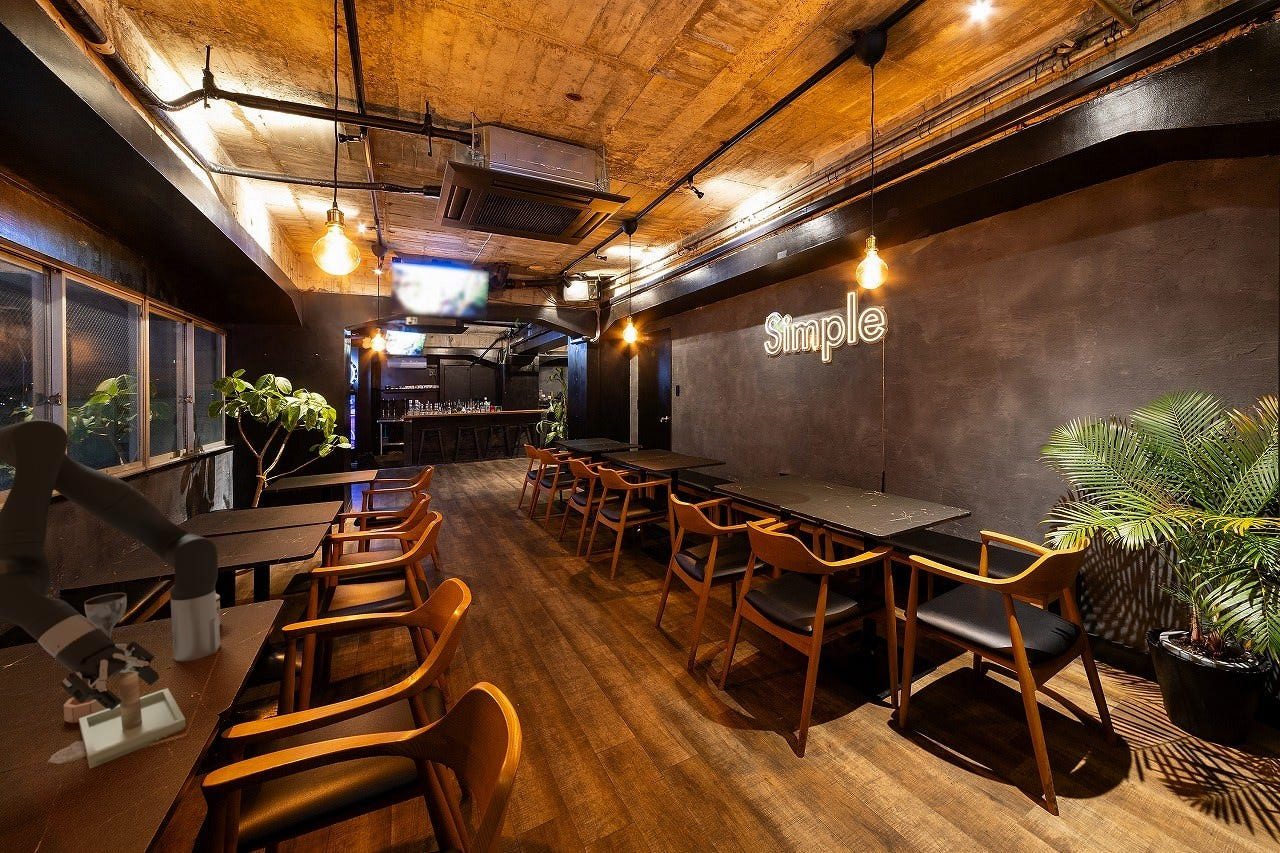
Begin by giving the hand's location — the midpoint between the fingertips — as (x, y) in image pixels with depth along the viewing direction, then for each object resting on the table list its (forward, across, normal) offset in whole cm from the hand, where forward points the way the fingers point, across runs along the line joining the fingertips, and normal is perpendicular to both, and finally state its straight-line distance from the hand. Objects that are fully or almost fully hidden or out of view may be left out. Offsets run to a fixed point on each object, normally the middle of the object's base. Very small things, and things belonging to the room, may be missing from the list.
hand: (136, 693), depth 106 cm
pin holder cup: (-6, +5, +17) cm, 19 cm away
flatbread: (+2, -6, +10) cm, 12 cm away
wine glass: (-22, +34, +34) cm, 52 cm away
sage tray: (+5, 0, +7) cm, 8 cm away
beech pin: (+4, 0, +6) cm, 7 cm away
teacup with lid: (-12, +47, +24) cm, 54 cm away
